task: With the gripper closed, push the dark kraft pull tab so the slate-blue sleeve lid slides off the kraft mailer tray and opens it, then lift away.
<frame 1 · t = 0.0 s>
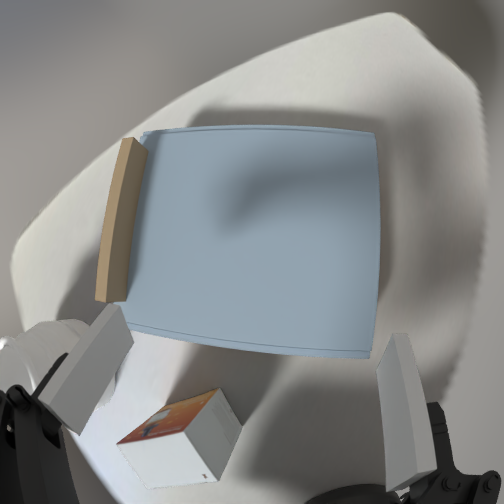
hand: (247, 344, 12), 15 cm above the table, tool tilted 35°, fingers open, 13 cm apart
honey pot: (80, 364, 30), on the table
small box: (202, 416, 27), on the table
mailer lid: (240, 227, 22), point 7 cm above the table, slide at 0.0 cm
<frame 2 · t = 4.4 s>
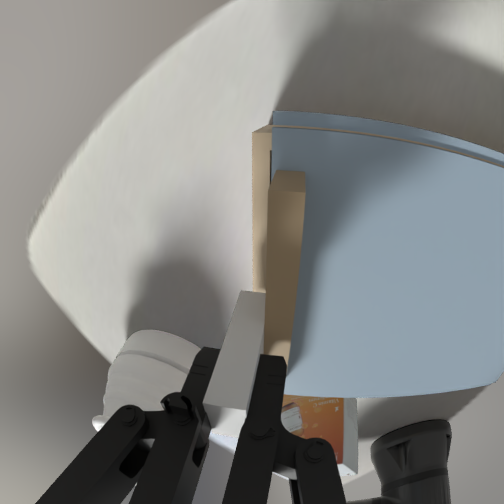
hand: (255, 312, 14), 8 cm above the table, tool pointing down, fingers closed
honey pot: (173, 365, 32), on the table
mailer tray: (406, 253, 19), on the table
small box: (319, 394, 30), on the table
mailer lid: (449, 311, 13), point 7 cm above the table, slide at 1.0 cm, touching gripper
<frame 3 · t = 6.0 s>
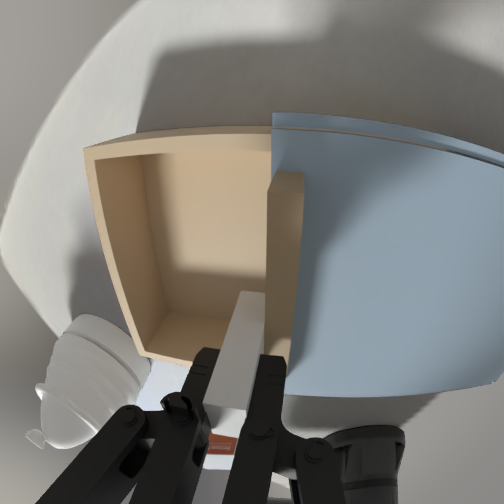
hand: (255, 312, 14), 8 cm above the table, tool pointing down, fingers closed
honey pot: (110, 348, 33), on the table
mailer tray: (281, 243, 21), on the table
small box: (239, 386, 32), on the table
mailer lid: (449, 310, 13), point 7 cm above the table, slide at 10.9 cm, touching gripper
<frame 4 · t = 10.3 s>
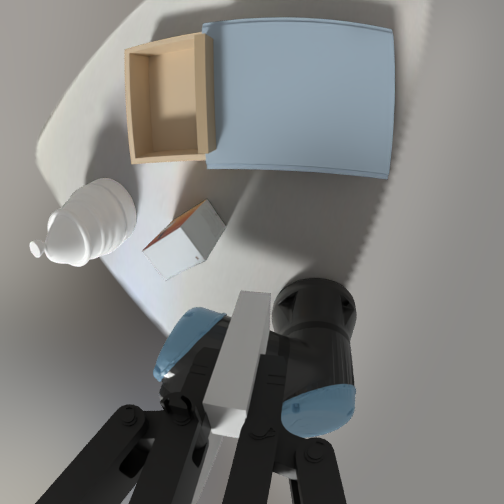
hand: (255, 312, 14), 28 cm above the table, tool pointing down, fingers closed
honey pot: (109, 210, 47), on the table
mailer tray: (215, 95, 35), on the table
small box: (198, 223, 45), on the table
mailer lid: (299, 91, 27), point 7 cm above the table, slide at 11.5 cm
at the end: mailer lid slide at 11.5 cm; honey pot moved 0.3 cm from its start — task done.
